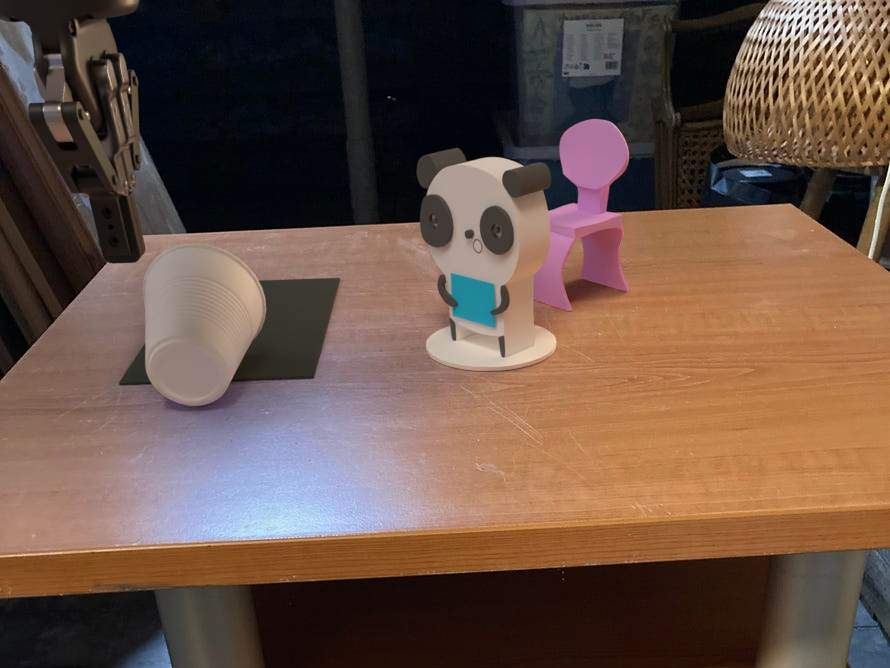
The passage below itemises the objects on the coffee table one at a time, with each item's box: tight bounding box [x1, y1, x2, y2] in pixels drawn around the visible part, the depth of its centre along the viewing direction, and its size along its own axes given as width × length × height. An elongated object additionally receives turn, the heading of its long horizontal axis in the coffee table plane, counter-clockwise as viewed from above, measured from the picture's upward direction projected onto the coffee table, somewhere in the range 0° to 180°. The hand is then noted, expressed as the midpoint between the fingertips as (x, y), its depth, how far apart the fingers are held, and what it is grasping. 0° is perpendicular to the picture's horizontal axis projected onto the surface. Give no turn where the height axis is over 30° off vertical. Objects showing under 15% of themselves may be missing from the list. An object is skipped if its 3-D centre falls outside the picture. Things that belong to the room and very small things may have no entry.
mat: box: [118, 277, 341, 386], centre depth 92 cm, size 26×16×1 cm, turn 2°
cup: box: [141, 242, 266, 407], centre depth 78 cm, size 10×10×11 cm
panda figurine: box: [416, 147, 557, 372], centre depth 82 cm, size 12×11×15 cm
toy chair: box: [534, 118, 630, 312], centre depth 93 cm, size 8×9×15 cm
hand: (126, 259), depth 60 cm, fingers closed
